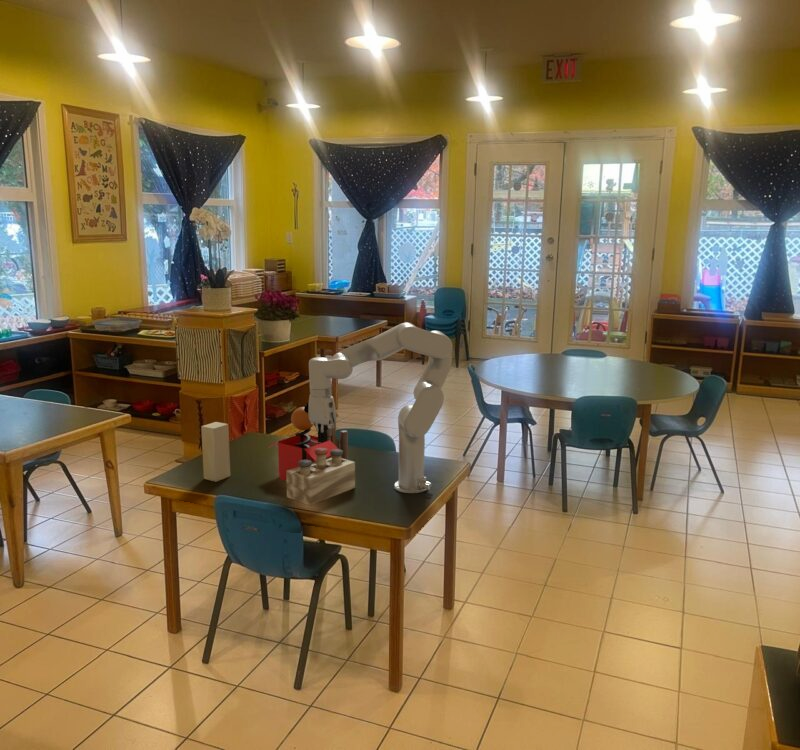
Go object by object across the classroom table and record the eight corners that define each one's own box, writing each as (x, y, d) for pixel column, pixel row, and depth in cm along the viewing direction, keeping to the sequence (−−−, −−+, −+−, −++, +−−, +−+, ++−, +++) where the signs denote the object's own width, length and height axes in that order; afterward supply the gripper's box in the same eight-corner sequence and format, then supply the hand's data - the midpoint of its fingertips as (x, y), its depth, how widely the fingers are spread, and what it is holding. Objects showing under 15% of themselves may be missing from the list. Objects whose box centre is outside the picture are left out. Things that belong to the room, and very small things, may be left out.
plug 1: (314, 486, 262) (314, 461, 260) (305, 489, 259) (304, 464, 257) (305, 483, 265) (305, 458, 263) (296, 486, 261) (295, 462, 259)
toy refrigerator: (217, 472, 288) (214, 421, 284) (231, 476, 285) (228, 423, 280) (202, 478, 282) (199, 425, 277) (216, 482, 278) (213, 428, 274)
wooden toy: (333, 471, 291) (332, 410, 285) (318, 469, 293) (317, 409, 288) (349, 460, 305) (348, 401, 300) (334, 458, 307) (334, 400, 302)
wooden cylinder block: (355, 487, 274) (354, 462, 272) (310, 505, 256) (309, 478, 254) (331, 480, 281) (331, 455, 279) (286, 497, 264) (286, 470, 262)
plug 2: (345, 474, 274) (345, 450, 272) (336, 477, 271) (336, 453, 269) (336, 471, 277) (336, 448, 275) (328, 475, 274) (327, 451, 272)
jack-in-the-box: (343, 477, 284) (342, 402, 278) (316, 489, 272) (314, 410, 266) (294, 464, 299) (292, 392, 293) (266, 475, 286) (264, 400, 280)
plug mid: (330, 473, 268) (330, 449, 266) (321, 477, 264) (321, 452, 262) (321, 470, 270) (321, 447, 268) (312, 474, 267) (311, 449, 265)
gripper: (343, 393, 259) (345, 442, 263) (313, 387, 268) (315, 435, 272) (328, 397, 253) (330, 448, 257) (298, 391, 263) (300, 440, 267)
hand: (322, 441), depth 265 cm, fingers closed
